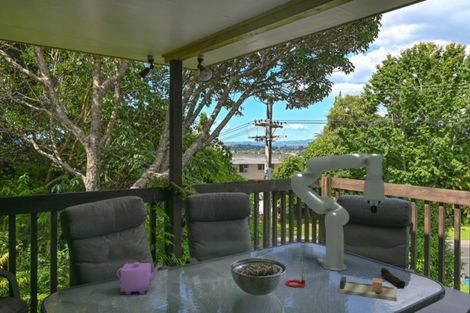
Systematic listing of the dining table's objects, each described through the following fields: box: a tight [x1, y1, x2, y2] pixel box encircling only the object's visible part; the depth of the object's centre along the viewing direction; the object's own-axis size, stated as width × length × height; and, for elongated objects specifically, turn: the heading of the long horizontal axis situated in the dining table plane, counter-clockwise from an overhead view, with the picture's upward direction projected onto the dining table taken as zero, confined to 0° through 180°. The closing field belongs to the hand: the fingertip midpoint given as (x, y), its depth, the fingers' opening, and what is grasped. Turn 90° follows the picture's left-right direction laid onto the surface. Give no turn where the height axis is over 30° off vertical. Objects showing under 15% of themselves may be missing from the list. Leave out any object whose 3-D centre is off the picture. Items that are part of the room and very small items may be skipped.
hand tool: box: [380, 267, 406, 290], centre depth 175 cm, size 19×4×5 cm, turn 2°
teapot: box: [116, 261, 163, 295], centre depth 161 cm, size 20×10×12 cm, turn 97°
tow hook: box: [285, 257, 306, 289], centre depth 170 cm, size 8×13×9 cm
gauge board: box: [337, 276, 398, 302], centre depth 161 cm, size 24×12×4 cm, turn 67°
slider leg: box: [371, 277, 383, 293], centre depth 159 cm, size 4×7×4 cm, turn 157°
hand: (373, 213), depth 183 cm, fingers closed
